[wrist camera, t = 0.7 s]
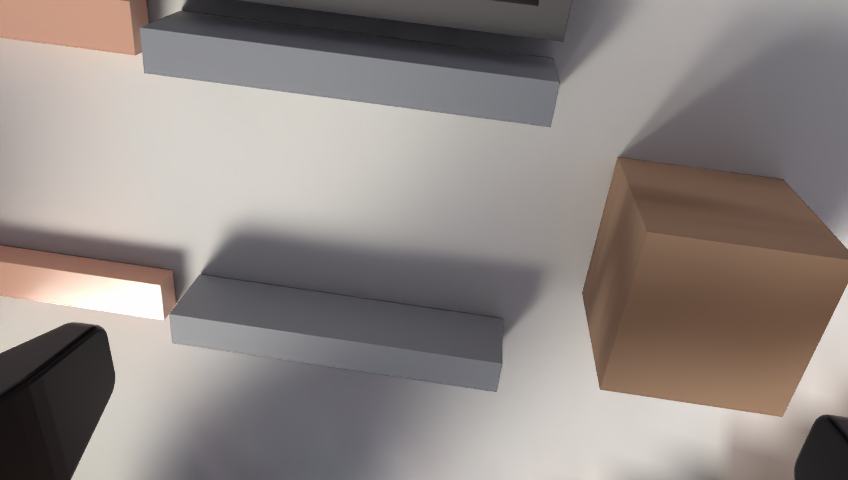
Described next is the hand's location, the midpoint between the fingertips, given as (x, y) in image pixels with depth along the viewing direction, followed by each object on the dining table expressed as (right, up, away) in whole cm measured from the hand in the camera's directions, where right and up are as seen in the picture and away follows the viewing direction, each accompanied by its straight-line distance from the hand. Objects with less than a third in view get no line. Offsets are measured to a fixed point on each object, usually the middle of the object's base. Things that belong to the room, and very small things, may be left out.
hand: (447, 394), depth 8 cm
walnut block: (+8, +2, +13) cm, 15 cm away
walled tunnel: (-3, +3, +13) cm, 14 cm away
